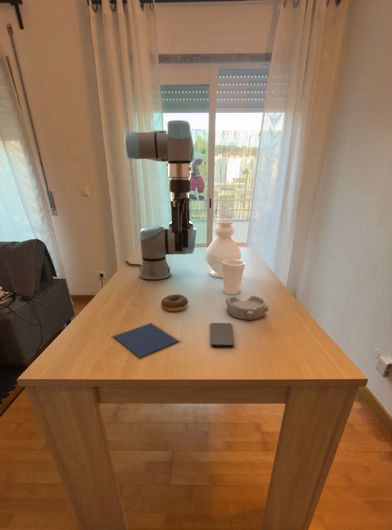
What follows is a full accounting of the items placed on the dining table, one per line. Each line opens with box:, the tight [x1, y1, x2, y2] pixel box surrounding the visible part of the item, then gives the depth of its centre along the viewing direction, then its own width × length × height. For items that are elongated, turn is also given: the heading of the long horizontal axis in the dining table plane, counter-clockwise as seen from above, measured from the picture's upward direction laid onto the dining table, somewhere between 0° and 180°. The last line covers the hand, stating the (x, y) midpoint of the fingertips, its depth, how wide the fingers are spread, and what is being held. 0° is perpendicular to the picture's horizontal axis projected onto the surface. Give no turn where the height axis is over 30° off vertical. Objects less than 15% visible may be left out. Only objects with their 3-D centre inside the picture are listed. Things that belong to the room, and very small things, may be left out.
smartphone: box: [210, 322, 235, 348], centre depth 91 cm, size 7×1×15 cm
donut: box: [160, 293, 189, 312], centre depth 110 cm, size 11×11×4 cm
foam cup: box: [222, 259, 246, 295], centre depth 121 cm, size 10×9×13 cm
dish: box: [225, 295, 269, 321], centre depth 105 cm, size 14×14×5 cm
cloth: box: [113, 322, 179, 359], centre depth 90 cm, size 16×14×1 cm
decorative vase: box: [204, 219, 242, 279], centre depth 140 cm, size 18×18×25 cm
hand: (181, 249), depth 108 cm, fingers open, 6 cm apart
